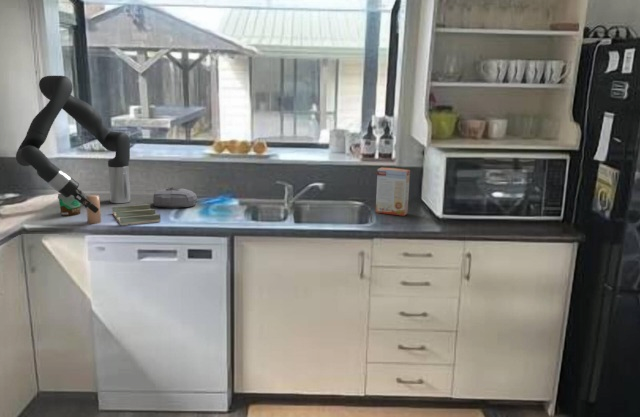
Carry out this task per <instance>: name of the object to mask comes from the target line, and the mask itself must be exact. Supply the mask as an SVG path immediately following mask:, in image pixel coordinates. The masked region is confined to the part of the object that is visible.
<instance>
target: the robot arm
mask: <svg viewBox="0 0 640 417" xmlns="http://www.w3.org/2000/svg"><path fill="white" fill-rule="evenodd" d="M38 88H39V90H40V92H41V94H42V95H43V96H44V97H45V98H46V99H48V100H49V101H48V102H47V103H46V104H45V106H44V107H43V108H42V109H41V110H40V111H39V112H38V113H37V114H36V115H35V116H34V118H33V119H32V120H31V122H30V123H29V124H30V125H29V127H28V130H27V131H26V134H25V137H24V138H23V140H22V142H21V144H20V145H19V147H18V148H17V151H16V153H15V160H16V162H17V163H18V164H19V165H20V166H23V167H30V166H31V167H32V168H33V169H34V170H36V174H37V176H38V177H40V178H41V179H42V180H43V181H45V182H46V183H47V184H49V186H51V188H53V189H54V190H55V191H57V193H58V194H62V195H63V196H64V197H66V198H67V197H69V196H70V195H73V196H74V199H75V200H76V201H78V202H79V203H80V204H81V206H84V207H85V208H86V209H87V208H89V209H90V210H92V211H93V212H94V213H96V212H97V211H98V210H99V209H98V208H97V207H96V206H94V205H93V204H92V203H91V202H90V201H89V200H88V198H87V197H86V196H88V195H87V194H86V193H84V192H83V191H82V190H81V189H79V190H78V188H79V186H80V183H79V182H78V181H77V180H75V179H74V178H72V177H71V176H70V175H69V174H68V173H66V172H65V171H63V170H62V169H60V168H59V167H58V166H56V165H55V164H54V163H52V162H51V160H50V159H49V158H48V157H47V155H45V154H44V153H43V151H42V150H40V148H41V147H42V145H44V144H45V142H46V140H47V138H48V135H49V133H50V130H51V128H52V126H53V124H54V122H55V120H56V118H57V117H58V115H59V114H60V112H61V111H62V110H63V111H64V112H65V113H66V114H67V115H69V116H70V117H71V118H72V119H73V120H74V121H76V122H77V123H78V124H79V125H80V126H81V127H82V128H84V129H85V130H86V131H87V132H88V133H89V134H91V135H92V136H93V137H94V138H95V139H96V140H97V141H98V143H99V144H100V145H102V147H104V149H106V150H107V151H109V152H115V156H114V157H113V158H110V159H108V160H107V168H108V182H109V185H108V186H109V198H110V199H109V202H110V203H113V204H124V203H125V204H126V203H130V202H131V184H130V182H131V181H130V165H129V164H130V159H131V157H130V156H131V143H130V142H131V141H130V138H129V135H128V133H126V132H123V131H122V132H120V131H112V130H110V129H109V128H107V127H106V126H105V125H104V124H103V118H102V115H101V114H100V113H99V111H98V110H96V108H94V107H93V106H92V105H91V104H90V103H88V102H87V101H85V100H82V99H80V98H78V97H76V96H74V95H72V92H73V83H72V80H71V79H70V78H69V77H68V76H65V75H46V76H43V77H41V78H40V79H39V82H38ZM86 202H88V203H87V204H86Z"/></svg>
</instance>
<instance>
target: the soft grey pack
mask: <svg viewBox="0 0 640 417" xmlns="http://www.w3.org/2000/svg"><path fill="white" fill-rule="evenodd" d="M197 200H198V197H197V193H196V192H194V191H192V190H190V189H186V188H178V187H169V188H163V189H158V190H156V191H154V194H153V198H152V202H153V206H154V207H159V208H169V209H170V208H171V209H172V208H173V209H174V208H175V209H177V208H179V209H181V208H189V207H194V206H196V203H197Z"/></svg>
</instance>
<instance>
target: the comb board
mask: <svg viewBox="0 0 640 417" xmlns="http://www.w3.org/2000/svg"><path fill="white" fill-rule="evenodd" d="M111 207H112V208H111V209H112V215H113V217H114V218H115V219H116V221H117V222H118V224H119V225H120V226H129V225H128V224H131V225H140V224H149V223H161V214H160V213H156V209H155V208H151V204H150V203H148V204H134V205H124V206H122V205H121V206H111Z"/></svg>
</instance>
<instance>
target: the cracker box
mask: <svg viewBox="0 0 640 417" xmlns="http://www.w3.org/2000/svg"><path fill="white" fill-rule="evenodd" d="M376 175H377V177H376V194H375V197H376V198H375V199H376V200H375V213H377V214H385V215H393V216H394V215H395V216H400V217H401V216H402V217H404V216H406V215H408V213H409V212H408V211H409V194H410V177H411V170H410V169H403V168H394V167H380V168H377V174H376Z"/></svg>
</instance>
